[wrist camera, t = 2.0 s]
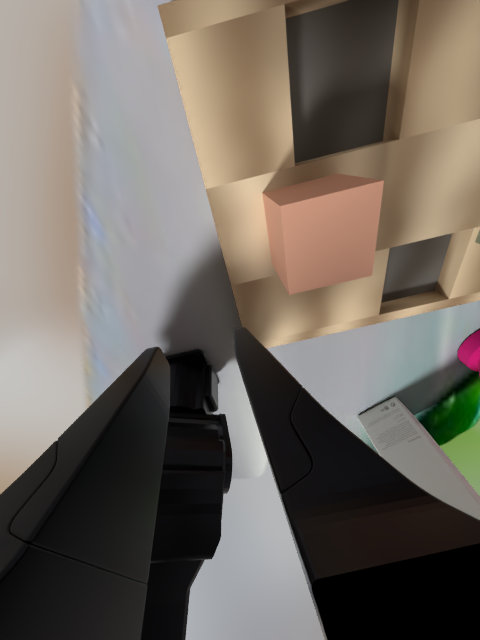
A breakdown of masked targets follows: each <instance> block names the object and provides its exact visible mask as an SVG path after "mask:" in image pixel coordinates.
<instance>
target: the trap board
mask: <svg viewBox="0 0 480 640" xmlns="http://www.w3.org/2000/svg"><path fill="white" fill-rule="evenodd" d="M158 9H159V13H160V17H161V20H162V24H163V28H164V32H165V36H166V40H167V43H168V47H169V51H170V55H171V59H172V62H173V66H174V70H175V74H176V78H177V81H178V85H179V89H180V93H181V97H182V100H183V104H184V108H185V112H186V116H187V119H188V123H189V127H190V131H191V135H192V139H193V142H194V146H195V150H196V154H197V158H198V161H199V165H200V169H201V173H202V177H203V180H204V184H205V188H206V192H207V196H208V199H209V203H210V207H211V211H212V215H213V218H214V222H215V226H216V230H217V234H218V238H219V241H220V245H221V249H222V253H223V257H224V260H225V264H226V268H227V272H228V276H229V279H230V283H231V287H232V291H233V295H234V298H235V302H236V306H237V310H238V314H239V317H240V321H241V325H242V327H246V328H247V329H248V330H249V331H250V332H251V333H252V334H253V335H254V336H255V337H256V338H257V339H258V340H259V342H260V343H261V344H262V345H263V346H264V347H265V348H270V347H274V346H279V345H283V344H287V343H292V342H296V341H301V340H305V339H310V338H314V337H319V336H323V335H328V334H332V333H336V332H341V331H345V330H350V329H354V328H359V327H363V326H368V325H372V324H376V323H381V322H385V321H390V320H394V319H399V318H403V317H408V316H412V315H417V314H421V313H425V312H430V311H434V310H439V309H443V308H448V307H452V306H457V305H461V304H466V303H470V302H474V301H479V300H480V0H175V1H172V2H168V3H165V4H162V5H158ZM335 174H344V175H351V176H358V177H365V178H372V179H379V180H384V185H383V193H382V201H381V209H380V217H379V225H378V233H377V241H376V249H375V257H374V265H373V273H372V276H369V277H364V278H360V279H356V280H352V281H347V282H343V283H339V284H334V285H330V286H326V287H322V288H317V289H313V290H309V291H304V292H300V293H296V294H292V295H289V294H288V292H287V290H286V288H285V286H284V285H283V283H282V281H281V279H280V277H279V276H278V274H277V272H276V270H275V268H274V266H273V265H272V259H271V252H270V245H269V238H268V231H267V224H266V217H265V210H264V203H263V195H262V193H264V192H268V191H272V190H275V189H279V188H283V187H287V186H291V185H295V184H299V183H303V182H307V181H311V180H315V179H319V178H323V177H327V176H331V175H335Z"/></svg>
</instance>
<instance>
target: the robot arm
mask: <svg viewBox="0 0 480 640" xmlns="http://www.w3.org/2000/svg"><path fill="white" fill-rule="evenodd" d="M233 333H234V348H235V355H236V359H237V362H238V365H239V369H240V372H241V375H242V378H243V382H244V385H245V388H246V391H247V394H248V398H249V401H250V404H251V407H252V410H253V414H254V417H255V420H256V423H257V426H258V429H259V433H260V436H261V439H262V442H263V445H264V448H265V451H266V455H267V458H268V461H269V464H270V467H271V470H272V474H273V477H274V480H275V483H276V486H277V489H278V492H279V495H280V499H281V502H282V505H283V508H284V511H285V515H286V518H287V521H288V524H289V527H290V530H291V534H292V536H293V540H294V543H295V546H296V549H297V553H298V556H299V559H300V562H301V565H302V568H303V571H304V575H305V578H306V581H307V584H308V587H309V590H310V594H311V597H312V600H313V603H314V606H315V609H316V613H317V616H318V619H319V622H320V625H321V628H322V632H323V635H324V638H325V640H480V520H479V519H477V518H475V517H473V516H471V515H469V514H467V513H465V512H463V511H461V510H459V509H457V508H455V507H453V506H451V505H449V504H447V503H445V502H443V501H442V500H440V499H438V498H437V497H435V496H433V495H431V494H430V493H428V492H427V491H425V490H424V489H422V488H421V487H419V486H418V485H417V484H415V483H414V482H412V481H411V480H410V479H408V478H407V477H406V476H405V475H403V474H402V473H401V472H400V471H398V470H397V469H396V468H395V467H393V466H392V465H391V464H390V463H389V462H387V461H386V460H385V459H384V458H382V457H381V456H380V455H379V454H378V453H376V452H375V451H374V450H373V449H372V448H370V447H369V446H368V445H367V444H365V443H364V442H363V441H362V440H361V439H359V438H358V437H357V436H356V435H355V434H353V433H352V432H351V431H350V430H348V429H347V428H346V427H345V426H344V425H343V424H341V423H340V422H339V421H338V420H337V419H336V418H334V417H333V416H332V415H331V414H330V413H329V412H328V411H327V410H326V409H325V408H323V407H322V406H321V405H320V404H319V403H318V402H317V401H316V400H315V399H314V398H313V397H312V396H311V395H310V394H309V393H308V391H307V390H306V389H305V388H303V387H302V385H301V384H300V383H299V382H298V381H297V380H296V379H295V378H294V377H293V376H292V375H291V374H290V373H289V372H288V371H287V370H286V369H285V368H284V367H283V366H282V365H281V363H280V362H279V361H278V360H277V359H276V358H275V357H274V356H273V355H272V354H271V353H270V352H269V351H268V350H267V349H266V348H265V347H264V346H263V345H262V344H261V343H260V342H259V340H258V339H257V338H256V337H255V336H254V335H253V334H252V333H251V332H250V331H249V330H248V329H247V328H246V327H241V328H236V329H234V331H233ZM197 354H200V355H197ZM217 410H218V380H217V377H216V375H215V372H214V370H213V367H212V365H210V364H208V362H207V360H206V357H205V355H204V352H203V351H202V350H195V351H190V352H186V353H181V354H177V355H173V356H168V357H165V356H164V354H163V352H162V350H161V349H160V348H159V347H153V348H149V349H146V350H145V351H144V352H143V353H142V354H141V355H140V356H139V357H138V358H137V359H136V360H135V361H134V362H133V363H132V364H131V365H130V366H129V367H128V368H127V369H126V370H125V371H124V372H123V373H122V374H121V375H120V376H119V377H118V378H117V379H116V380H115V381H114V382H113V383H112V384H111V385H110V386H109V387H108V388H107V389H106V390H105V391H104V392H103V393H102V394H101V395H100V396H99V397H98V398H97V399H96V401H95V402H94V403H93V404H92V405H91V406H90V407H89V408H88V409H87V410H86V411H85V412H84V413H83V414H82V415H81V416H80V417H79V418H78V419H77V420H76V421H75V422H74V423H73V424H72V425H71V426H70V427H69V428H68V429H67V430H66V431H65V432H64V433H63V434H62V435H61V436H60V437H59V438H58V441H55V442H54V443H53V444H52V445H51V446H50V447H49V448H48V449H47V450H46V451H45V452H44V453H43V454H42V455H41V456H40V457H39V458H38V459H37V460H36V461H35V462H34V463H33V464H32V465H31V466H30V467H29V468H28V469H27V470H26V471H25V472H24V473H23V474H22V475H21V476H20V477H19V478H18V479H17V480H15V481H14V482H13V483H12V484H11V485H10V486H9V487H8V488H7V489H6V490H5V491H4V492H3V493H2V494H0V640H185V636H186V625H187V615H188V603H189V594H190V587H191V585H192V583H193V582H194V580H195V578H196V576H197V574H198V572H199V570H200V567H201V566H202V564H203V562H204V560H205V559H212V557H213V556H214V553H215V551H216V548H217V546H218V544H219V541H220V537H221V518H222V504H223V494H224V493H227V492H228V491H229V488H230V483H231V476H232V449H231V443H230V437H229V432H228V426H227V421H226V416H225V414H219V415H214V414H213V412H215V411H217Z"/></svg>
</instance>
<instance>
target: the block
mask: <svg viewBox="0 0 480 640" xmlns="http://www.w3.org/2000/svg"><path fill="white" fill-rule="evenodd" d="M383 185H384V180H379V179H372V178H365V177H358V176H351V175H344V174H335V175H331V176H327V177H323V178H319V179H315V180H311V181H307V182H303V183H299V184H295V185H291V186H287V187H283V188H279V189H275V190H272V191H268V192H264V193H262V195H263V203H264V210H265V217H266V224H267V231H268V238H269V245H270V252H271V259H272V265H273V266H274V268H275V270H276V272H277V274H278V276H279V277H280V279H281V281H282V283H283V285H284V286H285V288H286V290H287V292H288V294H289V295H292V294H296V293H300V292H304V291H309V290H313V289H317V288H322V287H326V286H330V285H334V284H339V283H343V282H347V281H352V280H356V279H360V278H364V277H369V276H372V273H373V265H374V257H375V249H376V241H377V233H378V225H379V217H380V209H381V201H382V193H383Z"/></svg>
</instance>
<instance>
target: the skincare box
mask: <svg viewBox="0 0 480 640" xmlns="http://www.w3.org/2000/svg"><path fill="white" fill-rule="evenodd" d="M358 419H359V421H360V423H361V424H362V426H363V428H364V429H365V431H366V433H367V435H368V436H369V438H370V440H371V441H372V443H373V445H374V446H375V448H376V450H377V451H378V453H379V455H380V456H381V457H382V458H384V459H385V460H386V461H387V462H389V463H390V464H391V465H392V466H393V467H395V468H396V469H397V470H398V471H400V472H401V473H402V474H403V475H405V476H406V477H407V478H408V479H410V480H411V481H412V482H414V483H415V484H417V485H418V486H419V487H421V488H422V489H424V490H425V491H427V492H428V493H430V494H431V495H433V496H435V497H437V498H438V499H440V500H442V501H443V502H445V503H447V504H449V505H451V506H453V507H455V508H457V509H459V510H461V511H463V512H465V513H467V514H469V515H471V516H473V517H475V518H477V519H479V520H480V496H479V495H478V494H477V492H476V491H475V490H474V489H473V487H472V486H471V485H470V484H469V482H468V481H467V480H466V479H465V477H464V476H463V475H462V474H461V472H460V471H459V470H458V469H457V468H456V466H455V465H454V464H453V463H452V461H451V460H450V459H449V458H448V457H447V455H446V454H445V453H444V452H443V450H442V449H441V448H440V447H439V445H438V444H437V443H436V442H435V440H434V439H433V438H432V437H431V436H430V434H429V433H428V432H427V431H426V430H425V428H424V427H423V426H422V425H421V424H420V422H419V421H418V420H417V419H416V418H415V416H414V415H413V414H412V413H411V412H410V411H409V410H408V409H407V408H406V407H405V406H404V404H403V403H402V402H401V401H400V400H399V399H398V398H396V397H393V398H391V399H389V400H387V401H385V402H383V403H381V404H379V405H377V406H376V407H374V408H372V409H370V410H368V411H366V412H365V413H363V414H361V415H360V416H358Z"/></svg>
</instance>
